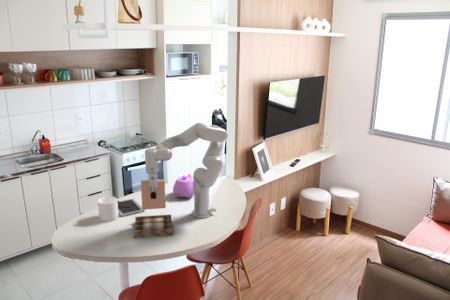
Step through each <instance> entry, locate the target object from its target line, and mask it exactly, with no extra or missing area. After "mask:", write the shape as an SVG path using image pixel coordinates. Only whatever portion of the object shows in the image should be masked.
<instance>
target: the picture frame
mask: <svg viewBox="0 0 450 300" xmlns="http://www.w3.org/2000/svg"><path fill="white" fill-rule="evenodd" d="M117 202H118V216H119V217H120V218H126V217H128V216H133V215H136V214H141V213H145V212H146V211H145V210H142V205H140V203H138V201H136V200H135V199H134V198H128V199H124V200H117Z"/></svg>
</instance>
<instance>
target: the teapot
mask: <svg viewBox="0 0 450 300" xmlns="http://www.w3.org/2000/svg"><path fill="white" fill-rule="evenodd" d="M172 192H173V194H174V195H175V196H176V198H177V199H179V198H186V199H187V200H189V199H191V197H194V179H193V177H192V174H190V173H189V174H188V175H181V176H179V177H178V178H176V180H175V182H174V184H173V188H172Z"/></svg>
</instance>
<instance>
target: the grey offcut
mask: <svg viewBox="0 0 450 300" xmlns="http://www.w3.org/2000/svg"><path fill="white" fill-rule="evenodd" d="M151 229H164V223H143V230H151Z"/></svg>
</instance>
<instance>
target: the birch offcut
mask: <svg viewBox="0 0 450 300" xmlns="http://www.w3.org/2000/svg"><path fill="white" fill-rule="evenodd" d="M143 223H164V220H163V218H148V219H143Z"/></svg>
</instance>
